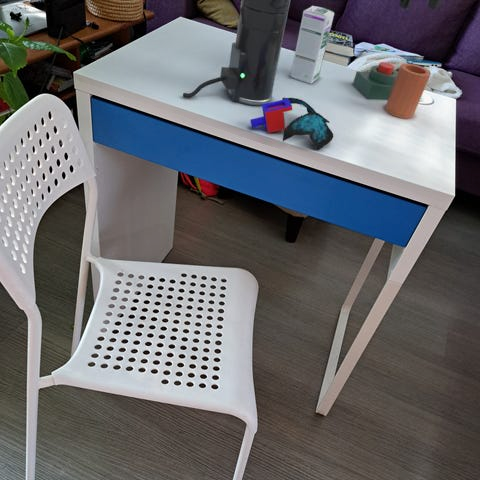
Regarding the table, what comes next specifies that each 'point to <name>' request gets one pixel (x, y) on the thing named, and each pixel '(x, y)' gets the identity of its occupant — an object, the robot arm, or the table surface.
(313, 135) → the butterfly
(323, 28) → the syrup box
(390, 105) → the jar
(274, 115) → the toy building block
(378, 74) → the green button base
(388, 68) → the button
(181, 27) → the table surface
